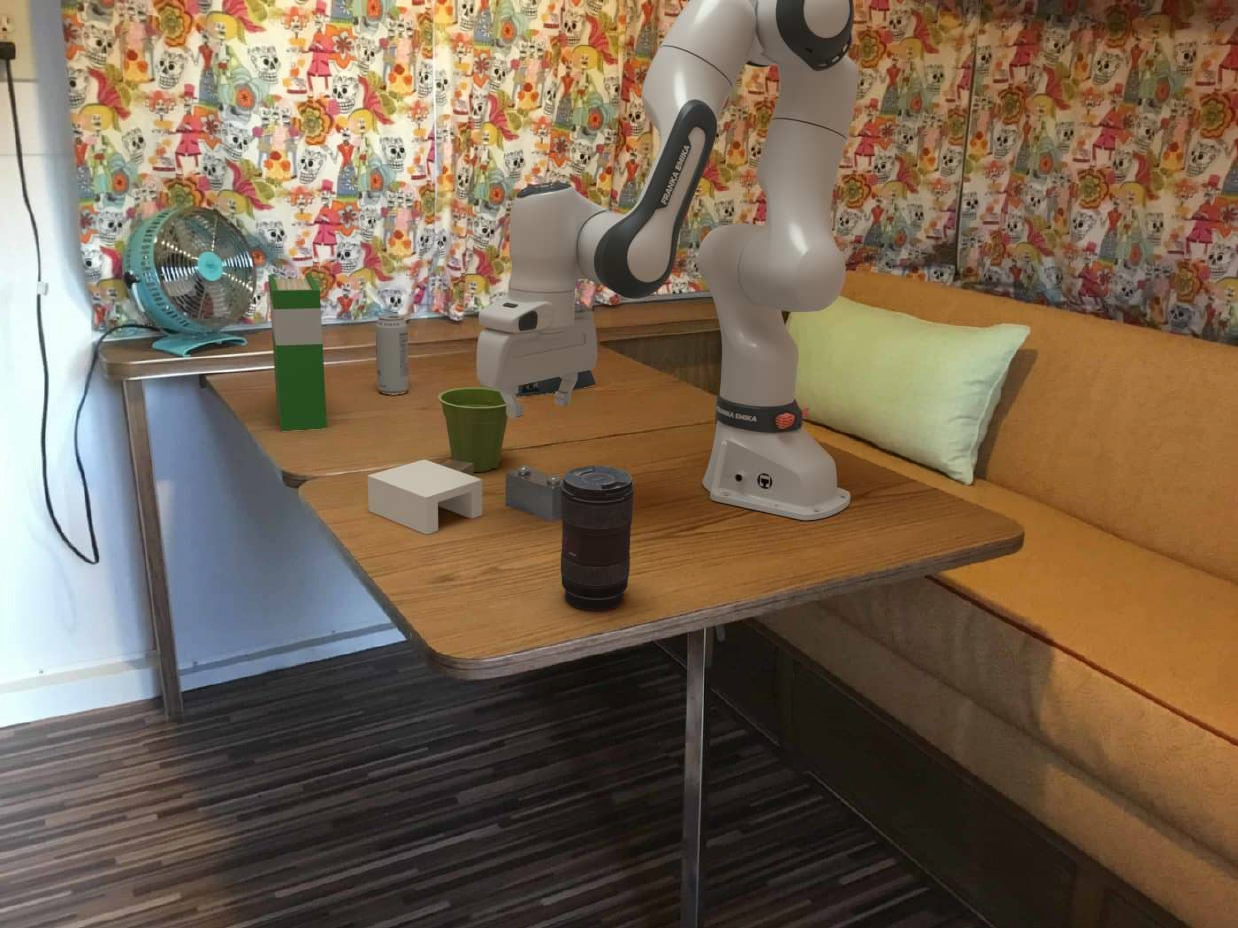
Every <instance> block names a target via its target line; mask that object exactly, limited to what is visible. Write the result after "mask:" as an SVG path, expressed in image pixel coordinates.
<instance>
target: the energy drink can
mask: <svg viewBox="0 0 1238 928" xmlns="http://www.w3.org/2000/svg"><path fill="white" fill-rule="evenodd" d="M405 320H406V319H405V315H403V314H397V313H396V314H394V313H391V314H380V315H378V320H377V321H376V323H375V325H374V328H375V350H376V375H377V376H376V377H377V378H376V379H377V383H376V384H377V389H378V390H379V391H380V393H381V392H384V393H391V394H392V393H394V394H395V393H402V392H405V391H406V392H407V390H408V389H409V388H410V381H409V378H410V377H409V372H410V371H409V345H408V343H409V341H408V339H409V337H408V324H407V322H406V321H405Z"/></svg>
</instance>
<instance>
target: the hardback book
mask: <svg viewBox="0 0 1238 928" xmlns="http://www.w3.org/2000/svg"><path fill="white" fill-rule="evenodd" d="M267 277H268V290H269V291H268V292H269V307H270V308H269V309H270V320H271V321H270V324H271V335H272V340H271V341H272V350H273V351H272V353H273V366H274V369H273V370H274V380H275V395H276V408H277V407H278V408H277V414H278V413H279V414H278V418H280V419H279V424H280V423H281V425H280V428H281V429H282V430H281V432H282V431H291V430H292V431H293V430H308V429H309V430H310V429H322V428H327V429H328V422H327V418H328V417H327V402H326V400H327V399H326V386H325V385H326V381H325V368H324V367H325V364H324V360H325V359H324V344H323V342H324V341H323V326H322V323H323V322H322V307H321V306H322V304H321V290H320V288H319V286H318V284H317V282H316V280H315V278H314V277H313V274H312V273H311V274H305V277H306V278H275V275H274V274H267Z"/></svg>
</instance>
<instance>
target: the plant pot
mask: <svg viewBox="0 0 1238 928" xmlns="http://www.w3.org/2000/svg"><path fill="white" fill-rule="evenodd" d="M437 400H438V401H439V402H440V403H441V407H442V411H443V412H442V414H443V416H444V417H445V423H446V430H447V436H448V443H449V449H450V454H451V460H456V461H462V462H468V463H473V473H475V472H476V473H485V472H489V471H490V470H491V469H492V470H493V469H497V468H498V467H499V466H500V465H499V464H500V459H501V454H502V449H503V444H504V438H505V433H506V428H507V423H508V419H509V417H508V416H507V415H506V403H505V401H504V400H503V398H502V396H501V394H500V390H495V389H491V388H487V387H459V388H458V387H457V388H452V389H448V390H445V391H442V392H440V393H439V394H438V395H437Z"/></svg>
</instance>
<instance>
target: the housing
mask: <svg viewBox="0 0 1238 928" xmlns="http://www.w3.org/2000/svg"><path fill="white" fill-rule="evenodd" d="M562 483H563V478H562V477H561V476H560V475H558V474H549V473H546V472H544V471H541V470H537V469H534V468H532V467H531V465H527V464H526V465H525V464H521V465H518V467H517V469H514V470H511V471H507V472H505V507H506V506H507V507H509V508H511V509H514V510H518V511H519V512H524V513H526V514H529V515H531V516H533V517H534V516H535V517H537V518H540V519H542V520H545V521H548V522H551V523H552V522H556V521H558V520H561V488H562V487H561V486H562Z"/></svg>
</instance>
